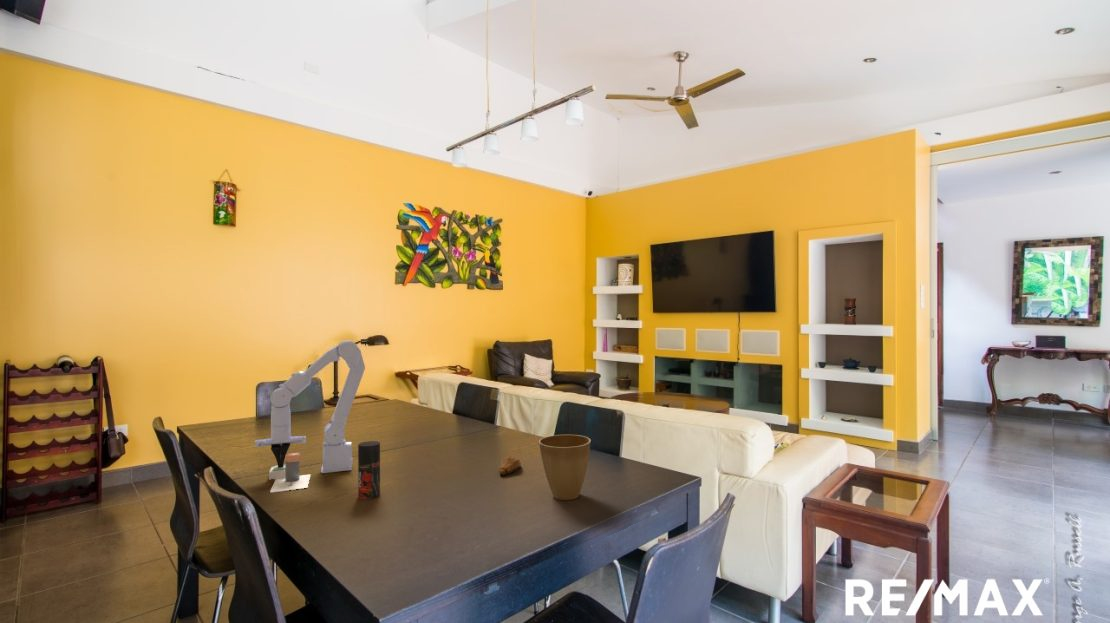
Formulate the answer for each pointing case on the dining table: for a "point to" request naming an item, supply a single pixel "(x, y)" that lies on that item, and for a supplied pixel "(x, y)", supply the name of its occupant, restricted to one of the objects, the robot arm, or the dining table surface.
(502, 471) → the croissant
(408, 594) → the dining table surface
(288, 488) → the paper sheet
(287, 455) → the grey and orange block
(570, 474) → the plant pot
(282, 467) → the button
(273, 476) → the button housing
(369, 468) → the deodorant
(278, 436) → the robot arm
